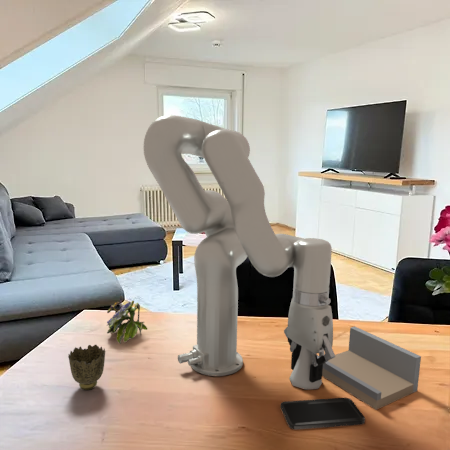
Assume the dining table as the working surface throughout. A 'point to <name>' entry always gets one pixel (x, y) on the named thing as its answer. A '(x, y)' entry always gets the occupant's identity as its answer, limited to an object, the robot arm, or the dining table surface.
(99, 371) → the cup
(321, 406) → the phone
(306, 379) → the flask
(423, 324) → the dining table surface
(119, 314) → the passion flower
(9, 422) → the dining table surface
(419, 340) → the dining table surface
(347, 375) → the wall shelf
